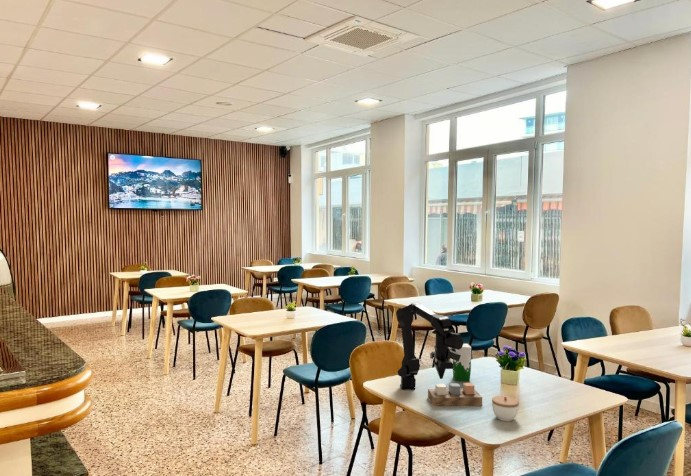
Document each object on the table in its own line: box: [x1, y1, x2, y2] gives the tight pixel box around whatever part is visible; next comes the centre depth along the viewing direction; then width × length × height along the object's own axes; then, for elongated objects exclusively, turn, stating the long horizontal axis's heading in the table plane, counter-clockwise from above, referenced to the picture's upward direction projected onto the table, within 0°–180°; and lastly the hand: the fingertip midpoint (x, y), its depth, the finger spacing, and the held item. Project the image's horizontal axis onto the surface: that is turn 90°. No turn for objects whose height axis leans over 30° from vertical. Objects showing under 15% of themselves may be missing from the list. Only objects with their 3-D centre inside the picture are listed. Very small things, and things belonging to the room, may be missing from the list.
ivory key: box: [434, 383, 447, 395], centre depth 221 cm, size 4×4×4 cm
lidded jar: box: [491, 395, 520, 422], centre depth 204 cm, size 11×11×9 cm
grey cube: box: [448, 382, 461, 395], centre depth 222 cm, size 4×4×4 cm
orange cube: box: [462, 382, 475, 395], centre depth 222 cm, size 4×4×4 cm
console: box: [427, 388, 483, 408], centre depth 222 cm, size 22×11×4 cm, turn 94°
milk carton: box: [452, 343, 472, 382], centre depth 253 cm, size 9×9×20 cm
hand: (441, 378), depth 221 cm, fingers closed
